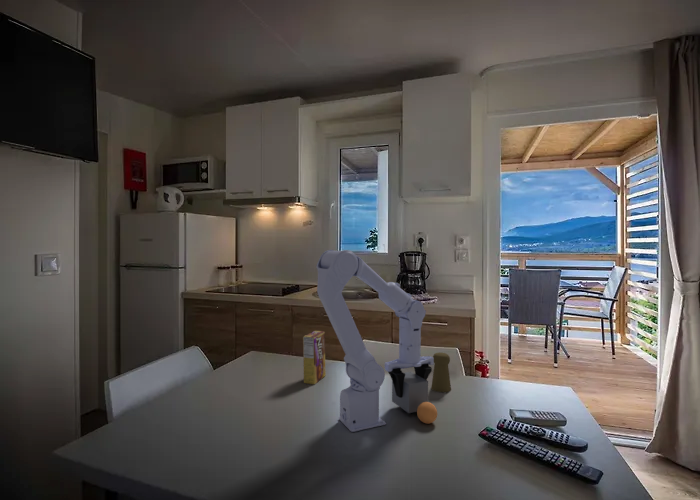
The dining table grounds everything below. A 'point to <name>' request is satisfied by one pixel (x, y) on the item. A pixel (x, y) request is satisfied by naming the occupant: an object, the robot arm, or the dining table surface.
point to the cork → (441, 373)
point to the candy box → (314, 357)
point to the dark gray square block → (411, 392)
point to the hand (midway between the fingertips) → (409, 394)
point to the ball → (427, 412)
